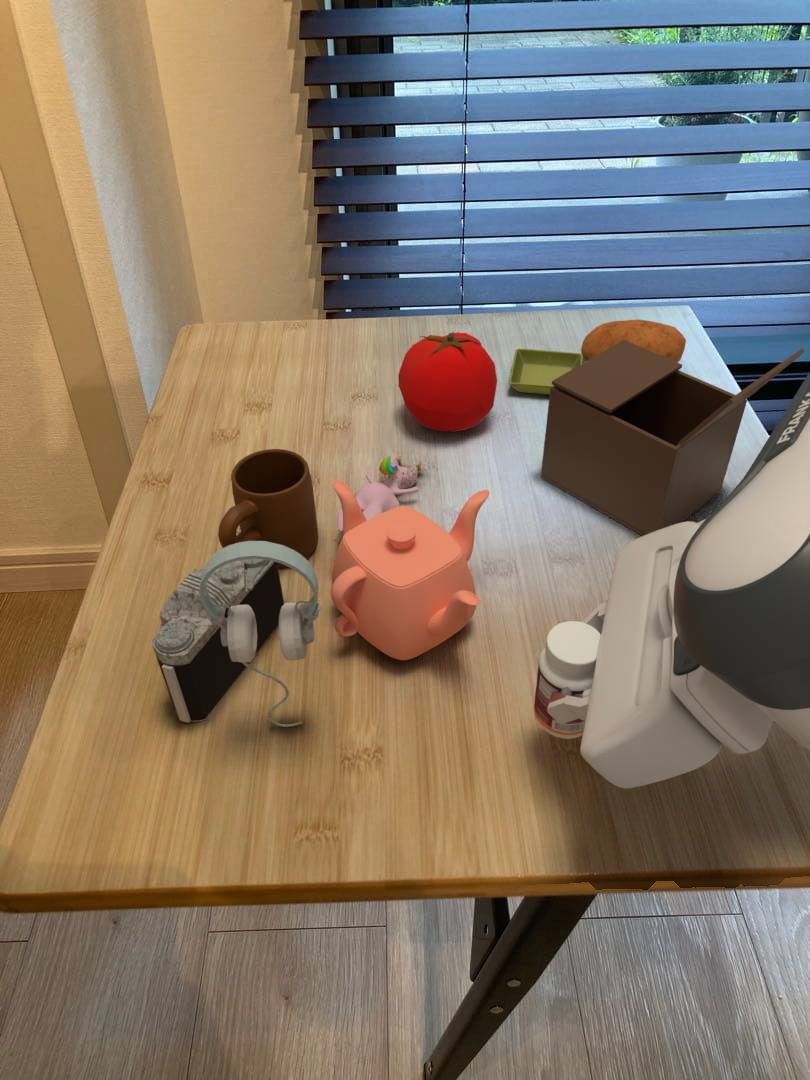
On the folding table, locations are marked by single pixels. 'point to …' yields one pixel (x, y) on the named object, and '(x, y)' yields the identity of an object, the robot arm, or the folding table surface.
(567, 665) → the pill bottle
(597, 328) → the potato
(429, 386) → the tomato
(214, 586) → the camera
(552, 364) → the olive green tray
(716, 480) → the carton
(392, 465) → the pink animal figure
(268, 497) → the mug
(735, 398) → the flap
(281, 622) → the headphones
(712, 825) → the folding table surface
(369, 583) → the teapot
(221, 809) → the folding table surface
